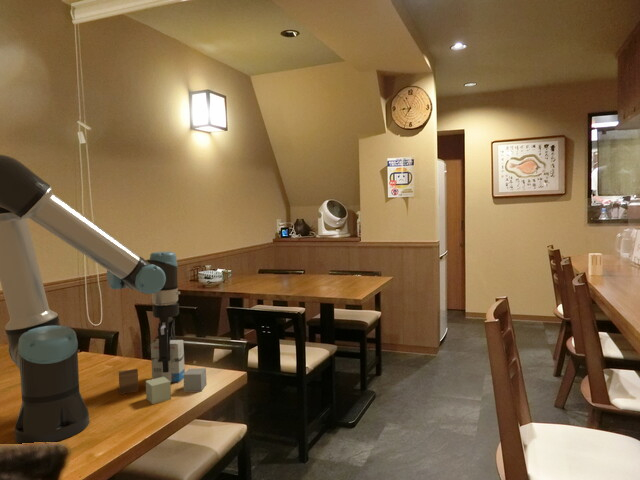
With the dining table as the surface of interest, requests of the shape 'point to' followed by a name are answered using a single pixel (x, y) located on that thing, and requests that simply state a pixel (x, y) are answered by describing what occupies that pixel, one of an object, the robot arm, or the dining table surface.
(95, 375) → the dining table surface
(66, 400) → the robot arm
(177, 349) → the ink box
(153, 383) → the sage cube
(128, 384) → the walnut cube
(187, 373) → the slate cube
